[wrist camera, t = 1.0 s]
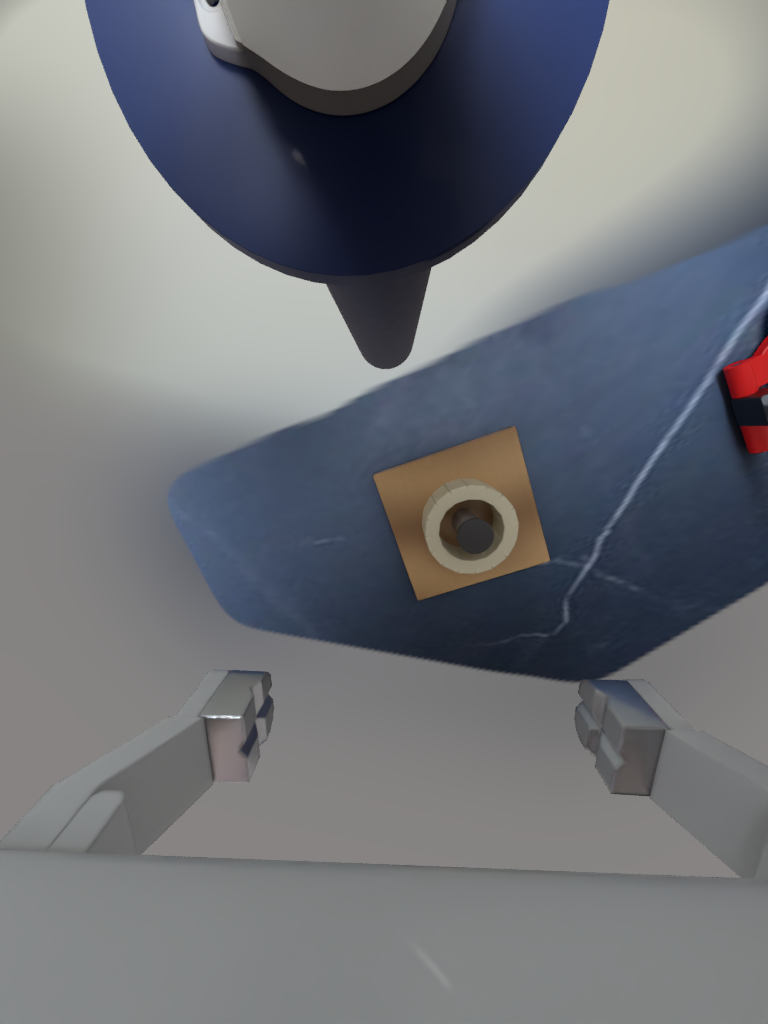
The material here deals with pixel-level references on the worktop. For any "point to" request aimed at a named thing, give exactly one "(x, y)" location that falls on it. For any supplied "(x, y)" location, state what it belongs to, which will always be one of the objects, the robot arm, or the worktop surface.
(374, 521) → the worktop surface
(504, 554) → the tape roll
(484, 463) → the peg stand
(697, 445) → the worktop surface
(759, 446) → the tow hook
